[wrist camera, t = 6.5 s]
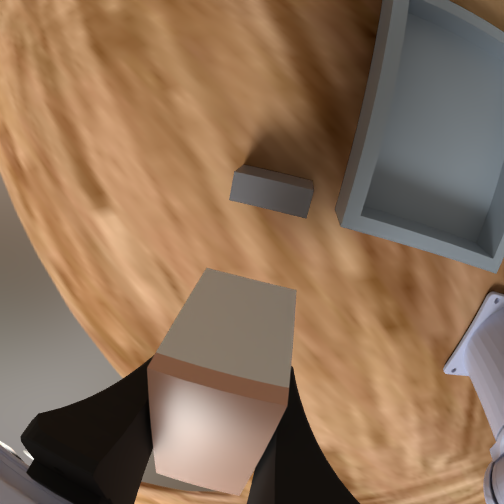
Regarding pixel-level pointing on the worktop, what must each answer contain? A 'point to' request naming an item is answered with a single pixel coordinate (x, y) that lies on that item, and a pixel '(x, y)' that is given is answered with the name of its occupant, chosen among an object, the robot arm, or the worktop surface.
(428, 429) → the worktop surface
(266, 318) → the pink and gray block
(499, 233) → the tray
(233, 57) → the worktop surface
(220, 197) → the worktop surface
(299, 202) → the grey blocks
